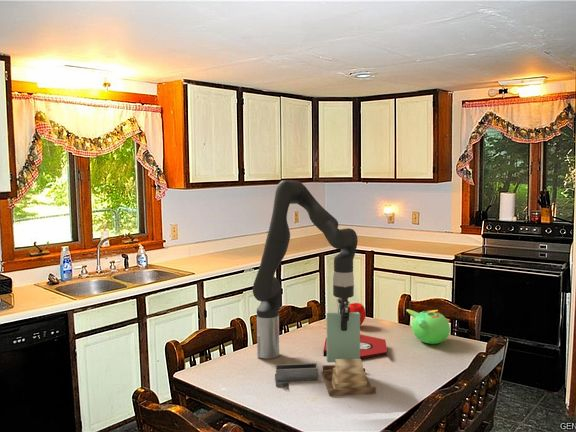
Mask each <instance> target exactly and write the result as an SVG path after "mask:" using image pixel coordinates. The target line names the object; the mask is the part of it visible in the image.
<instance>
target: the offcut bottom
mask: <svg viewBox="0 0 576 432" xmlns="http://www.w3.org/2000/svg"><path fill="white" fill-rule="evenodd" d="M332 385H333V387H334V389H337V388H359V387H367V382H366V381H365V382H353V383H340V384H338V383H337V382H336V380H335V379H334V377H333V375H332Z"/></svg>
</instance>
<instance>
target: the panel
mask: <svg viewBox="0 0 576 432" xmlns="http://www.w3.org/2000/svg"><path fill="white" fill-rule="evenodd" d="M344 317H346V316H344ZM340 319H341V315H340V314H339V313H338V312H327V313H326V338H327V356H326V362H327V363H335V359H360V334H361V326H360V313H359V312H350V313H349V321H347V331H342V330H341V320H340Z"/></svg>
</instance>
